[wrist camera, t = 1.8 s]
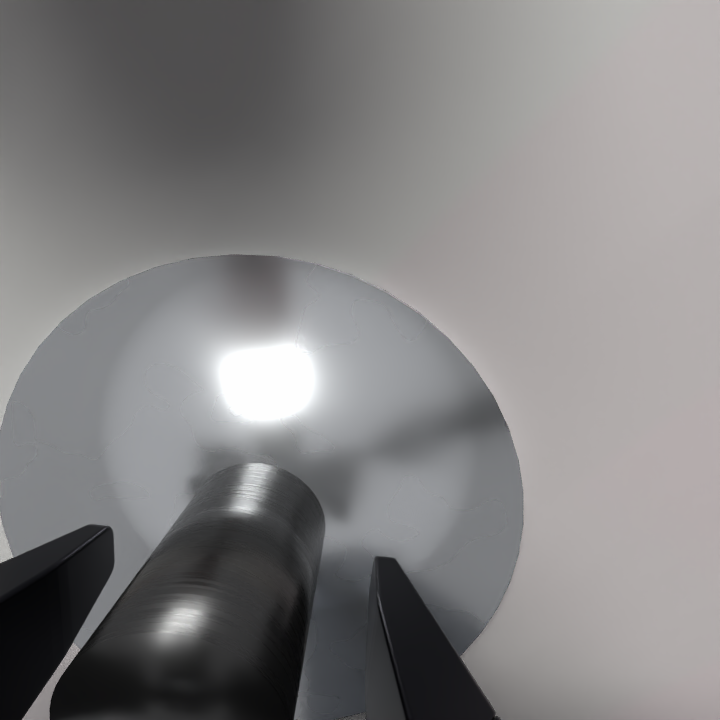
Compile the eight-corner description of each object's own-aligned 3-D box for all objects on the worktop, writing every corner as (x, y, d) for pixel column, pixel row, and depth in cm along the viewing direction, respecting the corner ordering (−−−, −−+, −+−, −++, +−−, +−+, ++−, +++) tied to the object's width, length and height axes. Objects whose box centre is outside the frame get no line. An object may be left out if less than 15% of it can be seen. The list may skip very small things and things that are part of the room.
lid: (560, 286, 9) (800, 325, 4) (467, 714, 12) (535, 1049, 7) (1, 225, 9) (-465, 187, 4) (44, 668, 12) (-195, 969, 7)
